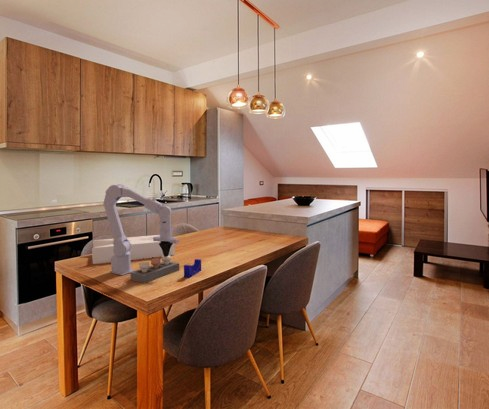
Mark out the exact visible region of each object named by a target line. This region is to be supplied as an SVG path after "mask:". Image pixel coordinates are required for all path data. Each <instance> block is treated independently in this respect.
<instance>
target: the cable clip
mask: <svg viewBox="0 0 489 409" xmlns="http://www.w3.org/2000/svg"><path fill="white" fill-rule="evenodd" d="M201 271H202V259H199V258H195V259H194V263H193V264H184V265H183V278H185V277H186V278H185V279H190V278H192V277H193V276H195V275H197V274H198V273H200V272H201Z"/></svg>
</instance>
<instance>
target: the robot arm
mask: <svg viewBox="0 0 489 409" xmlns="http://www.w3.org/2000/svg"><path fill="white" fill-rule="evenodd" d="M121 198H129V199H133V200H134V201H137V202H138V203H141V204H142V205H143V206H144V208H145V209H147V210H149V211H150V212H152V213H154V214H157V215H158V217H159V223H158V224H159V235H160V237H153V241H160V243H159V245H160V247H161V249H162V251H163V255H164V256H165V257H167V256H169V251H170V248H171V246H172V244H173V243H175V245H176V244H179V243H180V242H179V241H180V240H179V238H174V237H172V220H171V219H172V217H171V215H172V208H171V207H170V206H169V205H166V204H165V203H163V202H159V201H157V199H156V198H154V197H153V198H152V197H149V198H147V197H146V196H144V195H141V194H140V193H138V192H137V191H135V190H133V189H131V188H130V187H128V186H125V185H123V184H112V185H110V186H108V188H107V189H106V190H105V195H104V199H103V207H104V210H105V213H106V217H107V220H108V223H109V227H110V230H111V234H112V236H113V237H112V238H113V239H114V240H113V245H114V248H113V252H114V255H113V256H112V258H111V262H110V263H111V270H110V271H109V272H110V273H112V274H115V275H120V276H124V275H126V274H130V272H133V271H136V270H135V269H132V266H131V264H132V263H131V262H132V260H131V258H130V252H129V250H130V249H131V243H130V242H129V241H128V239H127V236H126V235H125V233H124V232H125V231H124V229H123V225H122V222H121V219H120V215H119V213H118V212H119V211H118V209H117V203H118V202H119V201H120V199H121Z"/></svg>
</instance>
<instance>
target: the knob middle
mask: <svg viewBox="0 0 489 409" xmlns="http://www.w3.org/2000/svg"><path fill="white" fill-rule="evenodd" d="M160 263H161V258H158V257H155V258H152V259H150V266H152V265H153V269H154V270H157V269H158V265H159V264H160Z"/></svg>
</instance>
